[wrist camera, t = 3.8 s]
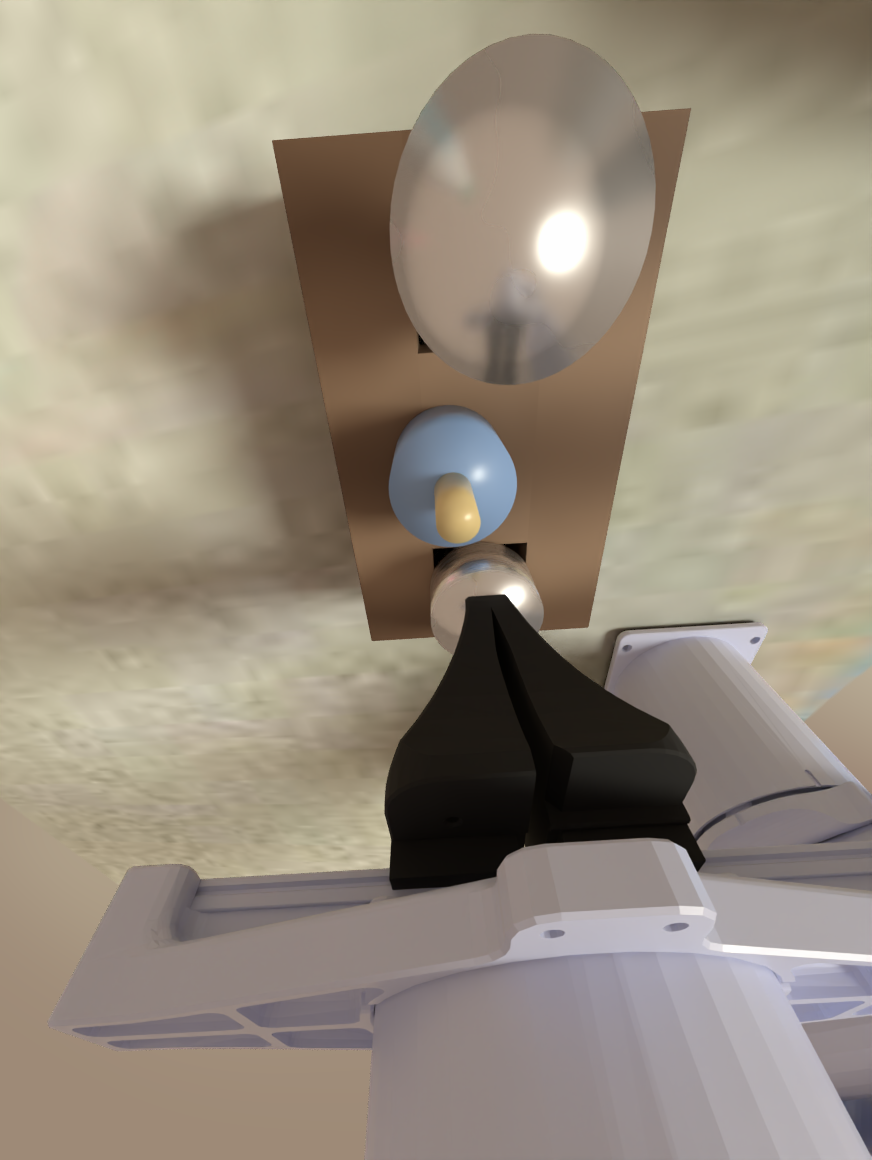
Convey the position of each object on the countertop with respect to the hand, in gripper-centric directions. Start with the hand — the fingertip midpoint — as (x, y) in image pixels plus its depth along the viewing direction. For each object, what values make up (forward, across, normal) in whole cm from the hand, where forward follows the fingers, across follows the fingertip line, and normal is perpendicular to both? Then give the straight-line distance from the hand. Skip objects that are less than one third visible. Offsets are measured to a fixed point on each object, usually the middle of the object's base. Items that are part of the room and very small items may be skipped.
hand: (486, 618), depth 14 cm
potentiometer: (+2, +1, -5) cm, 5 cm away
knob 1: (+3, 0, -10) cm, 10 cm away
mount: (+6, 0, -5) cm, 8 cm away
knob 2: (+6, 0, 0) cm, 6 cm away
